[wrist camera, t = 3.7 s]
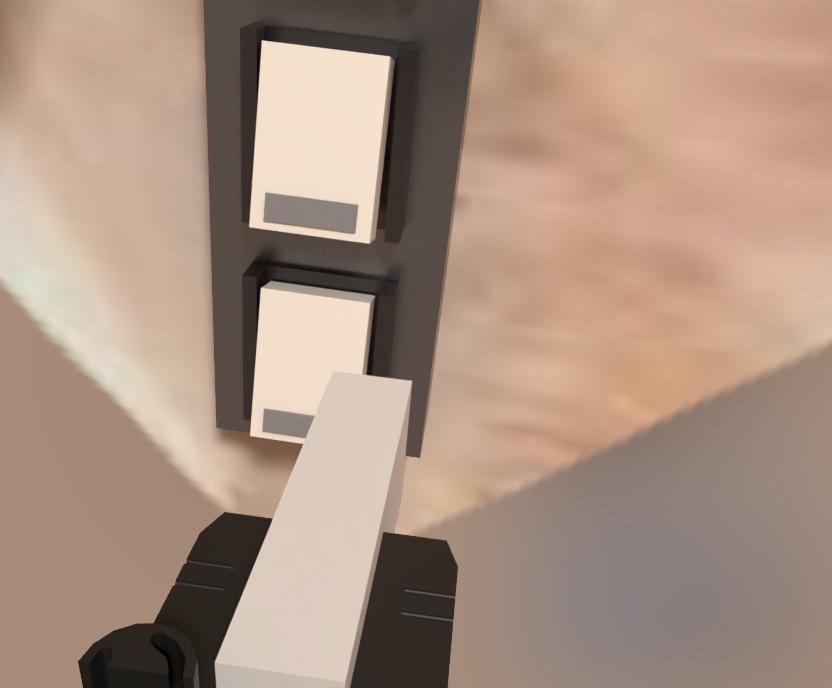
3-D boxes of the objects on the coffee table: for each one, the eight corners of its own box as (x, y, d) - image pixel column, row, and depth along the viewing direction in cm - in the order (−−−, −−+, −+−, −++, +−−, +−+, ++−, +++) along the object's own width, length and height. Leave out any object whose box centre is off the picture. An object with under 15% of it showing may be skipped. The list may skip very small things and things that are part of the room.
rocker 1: (273, 45, 28) (260, 39, 27) (395, 61, 28) (389, 56, 26) (261, 223, 30) (247, 227, 28) (375, 238, 30) (369, 244, 28)
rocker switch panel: (234, -354, 26) (171, -416, 22) (524, -324, 26) (527, -381, 21) (241, 384, 41) (205, 446, 36) (427, 411, 41) (416, 478, 36)
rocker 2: (271, 280, 33) (260, 288, 31) (375, 295, 33) (369, 304, 31) (260, 422, 35) (248, 437, 33) (359, 437, 34) (353, 452, 33)
